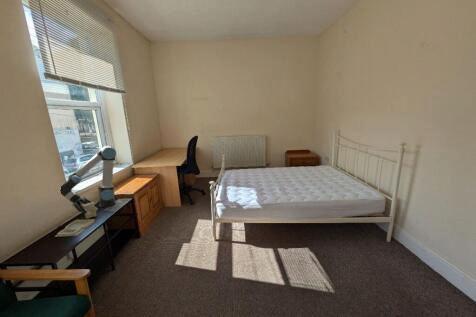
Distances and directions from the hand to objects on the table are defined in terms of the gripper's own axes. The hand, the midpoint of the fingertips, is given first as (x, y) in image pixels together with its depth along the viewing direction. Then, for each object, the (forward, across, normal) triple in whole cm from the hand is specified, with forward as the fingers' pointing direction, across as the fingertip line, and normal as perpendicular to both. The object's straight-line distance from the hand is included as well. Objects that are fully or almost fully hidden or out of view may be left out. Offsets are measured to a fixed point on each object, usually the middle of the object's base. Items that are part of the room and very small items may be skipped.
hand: (93, 212), depth 187 cm
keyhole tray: (+2, +19, -6) cm, 20 cm away
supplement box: (+1, 0, -6) cm, 6 cm away
